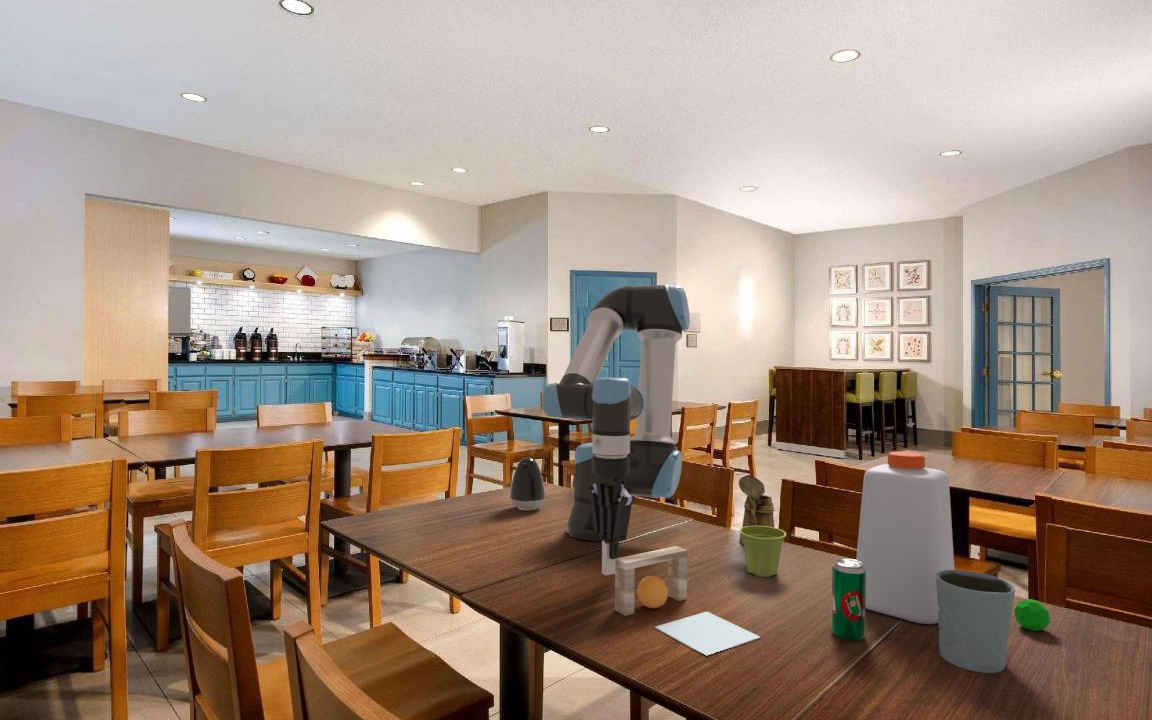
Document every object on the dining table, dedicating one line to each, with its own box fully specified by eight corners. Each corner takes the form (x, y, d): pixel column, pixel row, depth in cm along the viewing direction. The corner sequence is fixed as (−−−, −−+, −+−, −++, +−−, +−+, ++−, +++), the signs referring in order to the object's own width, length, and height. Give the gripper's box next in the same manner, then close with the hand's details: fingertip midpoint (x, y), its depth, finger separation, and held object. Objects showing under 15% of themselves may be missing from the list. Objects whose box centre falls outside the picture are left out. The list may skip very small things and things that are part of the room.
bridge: (614, 610, 114) (615, 558, 114) (675, 593, 122) (676, 545, 122) (625, 615, 112) (625, 563, 112) (686, 599, 120) (687, 550, 120)
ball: (633, 610, 116) (629, 578, 117) (657, 604, 119) (652, 573, 120) (653, 612, 111) (647, 579, 113) (676, 605, 114) (671, 573, 116)
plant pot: (788, 582, 129) (788, 539, 129) (740, 578, 131) (740, 536, 131) (782, 567, 138) (783, 527, 138) (737, 563, 140) (738, 524, 140)
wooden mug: (728, 549, 151) (729, 472, 151) (745, 535, 162) (746, 464, 162) (766, 555, 146) (767, 477, 146) (781, 541, 158) (782, 468, 157)
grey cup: (919, 650, 100) (921, 573, 100) (963, 639, 104) (965, 565, 104) (983, 681, 91) (985, 596, 90) (1029, 668, 95) (1030, 587, 94)
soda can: (836, 626, 108) (838, 555, 108) (868, 634, 105) (869, 562, 105) (827, 636, 104) (828, 563, 104) (859, 645, 101) (860, 570, 101)
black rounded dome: (505, 512, 183) (505, 459, 183) (514, 504, 193) (515, 454, 193) (540, 514, 181) (540, 460, 181) (548, 506, 191) (548, 455, 191)
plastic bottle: (962, 606, 117) (964, 454, 117) (937, 631, 107) (939, 463, 106) (876, 585, 128) (878, 445, 128) (845, 605, 117) (847, 453, 117)
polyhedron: (1034, 636, 105) (1034, 608, 105) (1006, 624, 110) (1007, 596, 110) (1057, 633, 106) (1058, 605, 106) (1029, 621, 111) (1029, 594, 111)
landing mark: (654, 627, 107) (654, 626, 107) (706, 612, 114) (706, 611, 114) (706, 656, 97) (706, 655, 97) (760, 638, 103) (760, 636, 103)
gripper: (577, 452, 131) (575, 567, 131) (615, 461, 120) (613, 587, 120) (606, 449, 135) (605, 561, 135) (646, 458, 124) (645, 579, 124)
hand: (609, 573), depth 128 cm, fingers closed
